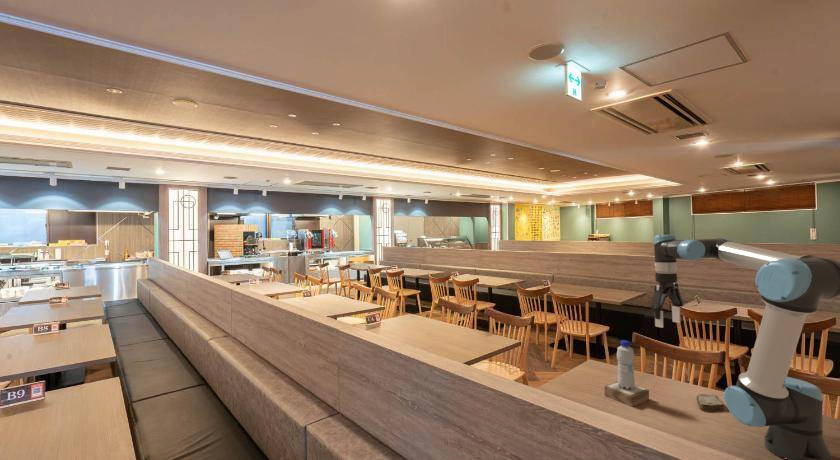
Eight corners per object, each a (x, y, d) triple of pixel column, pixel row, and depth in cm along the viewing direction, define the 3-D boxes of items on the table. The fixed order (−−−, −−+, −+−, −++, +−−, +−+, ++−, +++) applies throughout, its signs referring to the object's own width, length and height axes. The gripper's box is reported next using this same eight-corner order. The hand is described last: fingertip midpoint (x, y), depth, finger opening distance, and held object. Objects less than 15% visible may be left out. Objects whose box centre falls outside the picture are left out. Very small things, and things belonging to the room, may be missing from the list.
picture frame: (649, 399, 158) (648, 389, 158) (631, 406, 152) (631, 396, 152) (621, 389, 169) (621, 379, 169) (604, 395, 163) (604, 385, 163)
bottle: (613, 386, 162) (612, 339, 162) (624, 383, 165) (623, 337, 165) (628, 392, 156) (627, 344, 156) (638, 388, 159) (637, 341, 159)
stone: (695, 396, 161) (695, 389, 161) (719, 400, 157) (719, 393, 157) (699, 411, 148) (699, 403, 148) (726, 416, 144) (726, 408, 144)
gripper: (671, 269, 164) (673, 318, 164) (639, 274, 151) (641, 327, 151) (691, 270, 158) (693, 321, 157) (659, 275, 145) (661, 331, 144)
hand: (668, 324), depth 154 cm, fingers open, 13 cm apart
